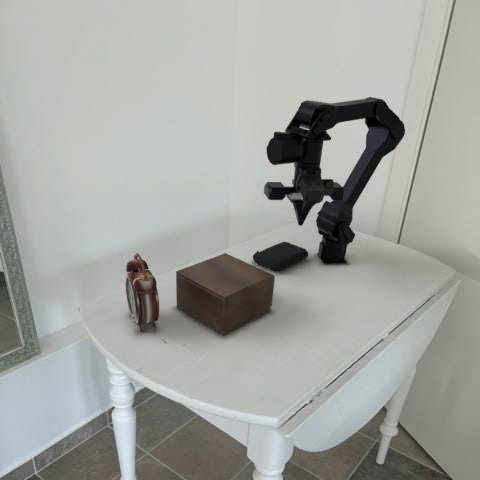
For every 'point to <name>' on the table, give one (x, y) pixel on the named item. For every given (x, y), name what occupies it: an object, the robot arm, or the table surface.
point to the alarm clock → (141, 292)
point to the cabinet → (224, 293)
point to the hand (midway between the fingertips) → (300, 225)
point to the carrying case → (280, 256)
